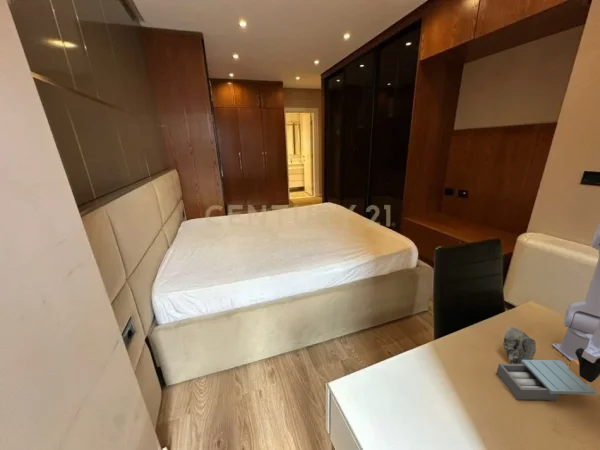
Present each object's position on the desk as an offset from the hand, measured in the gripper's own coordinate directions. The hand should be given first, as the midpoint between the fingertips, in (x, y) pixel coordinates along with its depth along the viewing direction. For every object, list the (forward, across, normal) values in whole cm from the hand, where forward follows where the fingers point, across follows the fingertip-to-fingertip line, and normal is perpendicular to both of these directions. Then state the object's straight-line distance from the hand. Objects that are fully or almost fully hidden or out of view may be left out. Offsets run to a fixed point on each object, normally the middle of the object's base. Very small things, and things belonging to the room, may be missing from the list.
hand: (595, 374), depth 61 cm
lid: (+7, +2, -5) cm, 9 cm away
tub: (+10, +9, -8) cm, 16 cm away
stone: (+11, 0, -17) cm, 20 cm away
